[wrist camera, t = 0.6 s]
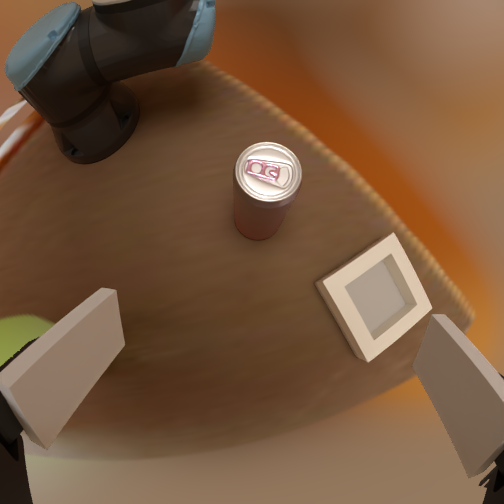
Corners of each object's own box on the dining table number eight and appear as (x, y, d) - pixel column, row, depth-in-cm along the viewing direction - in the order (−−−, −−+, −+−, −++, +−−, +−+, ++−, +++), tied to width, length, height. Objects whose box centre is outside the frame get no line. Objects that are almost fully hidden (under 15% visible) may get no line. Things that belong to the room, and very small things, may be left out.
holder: (313, 283, 37) (322, 281, 33) (380, 238, 38) (393, 232, 34) (355, 356, 35) (368, 362, 31) (416, 307, 37) (432, 308, 33)
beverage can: (241, 192, 38) (244, 132, 23) (284, 204, 38) (310, 150, 23) (229, 234, 37) (223, 192, 22) (273, 246, 37) (296, 212, 22)
